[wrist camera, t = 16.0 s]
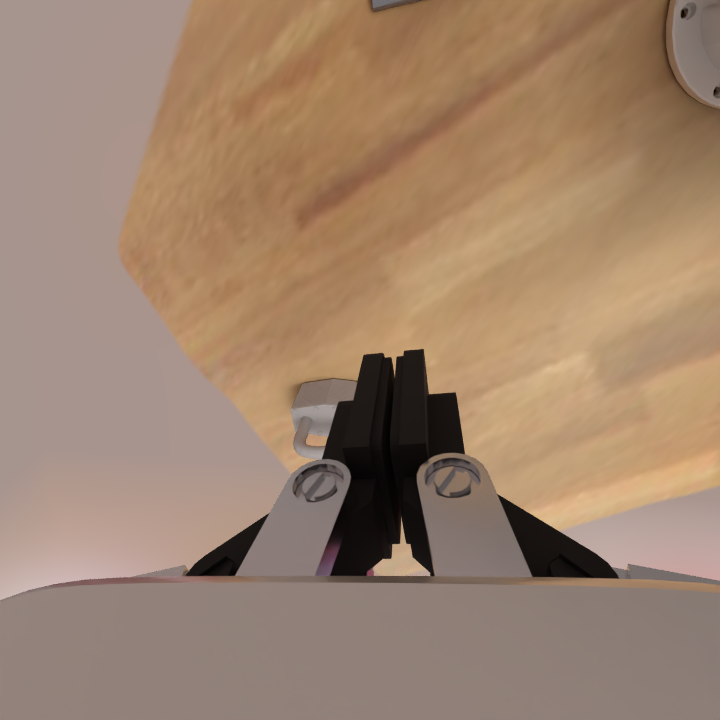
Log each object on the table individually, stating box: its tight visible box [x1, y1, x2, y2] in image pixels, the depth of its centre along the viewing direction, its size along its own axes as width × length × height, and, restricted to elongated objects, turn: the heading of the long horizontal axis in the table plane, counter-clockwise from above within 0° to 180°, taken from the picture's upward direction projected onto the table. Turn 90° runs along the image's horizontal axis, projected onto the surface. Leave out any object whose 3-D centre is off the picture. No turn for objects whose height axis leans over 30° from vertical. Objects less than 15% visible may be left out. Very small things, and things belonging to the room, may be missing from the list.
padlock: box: [291, 379, 357, 459], centre depth 41 cm, size 7×4×10 cm, turn 95°
